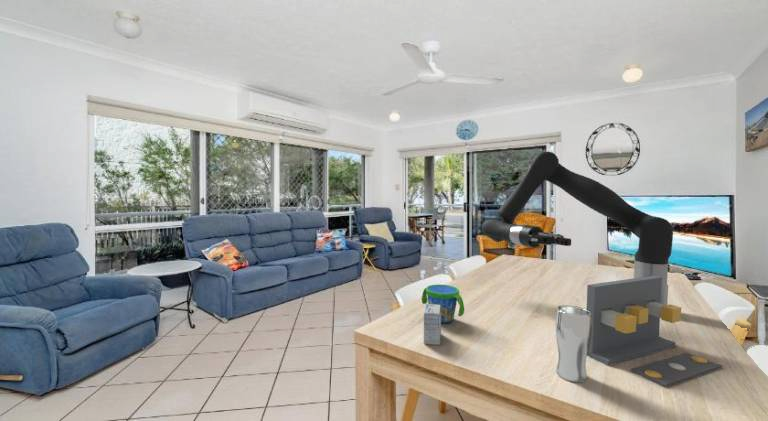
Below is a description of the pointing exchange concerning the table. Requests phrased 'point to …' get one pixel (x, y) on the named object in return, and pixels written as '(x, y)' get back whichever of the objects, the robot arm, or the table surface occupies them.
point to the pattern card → (675, 369)
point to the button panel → (615, 296)
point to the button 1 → (619, 321)
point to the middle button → (637, 313)
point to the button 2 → (664, 311)
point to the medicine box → (432, 324)
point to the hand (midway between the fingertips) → (569, 242)
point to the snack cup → (444, 300)
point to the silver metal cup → (573, 342)
